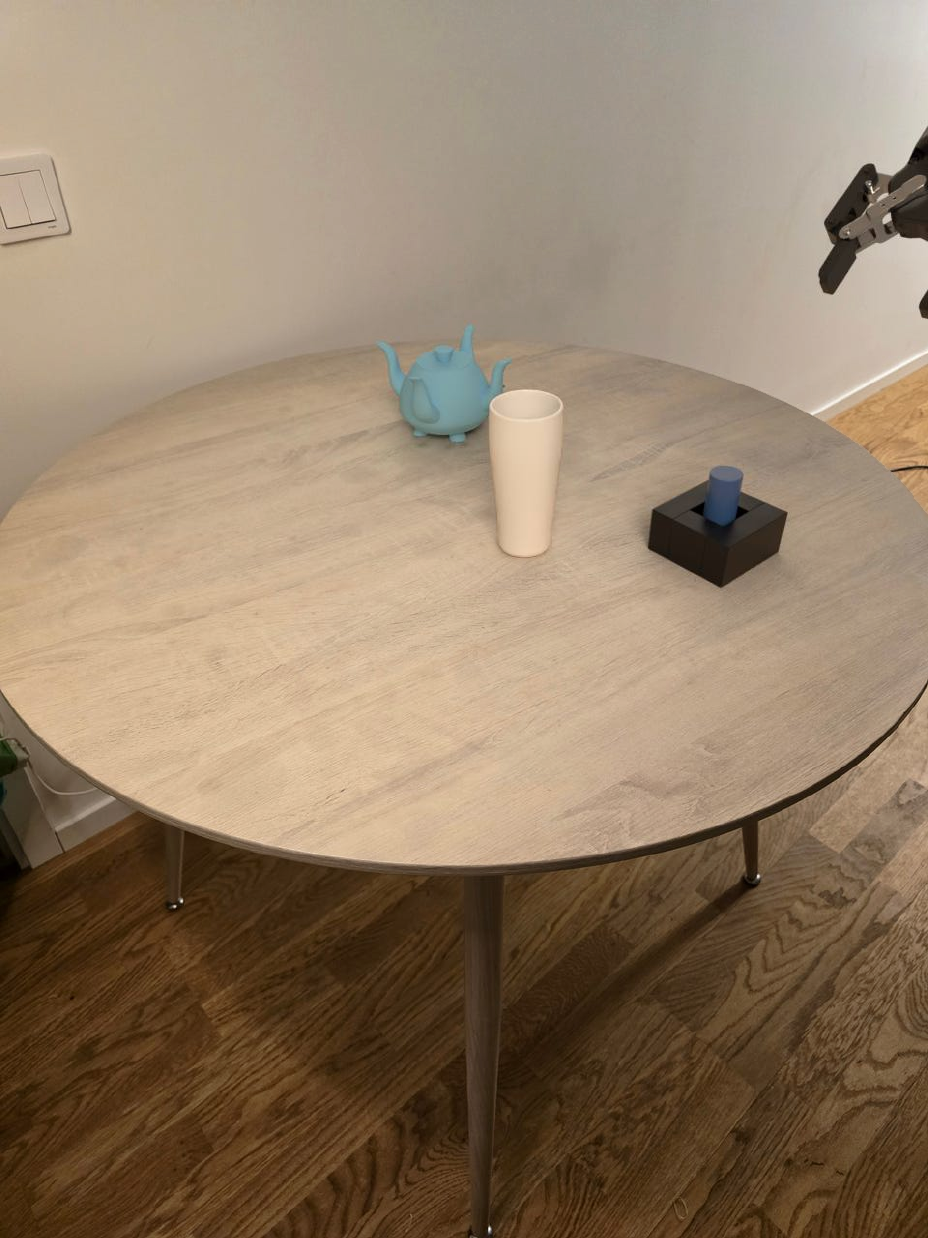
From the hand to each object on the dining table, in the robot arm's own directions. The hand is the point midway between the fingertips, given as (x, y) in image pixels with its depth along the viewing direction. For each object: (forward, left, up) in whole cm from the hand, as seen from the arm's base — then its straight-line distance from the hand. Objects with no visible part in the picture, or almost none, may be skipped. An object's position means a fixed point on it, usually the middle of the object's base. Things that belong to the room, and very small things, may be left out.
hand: (873, 300), depth 69 cm
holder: (+6, +7, -24) cm, 26 cm away
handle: (+6, +7, -24) cm, 26 cm away
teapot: (+45, +9, -24) cm, 52 cm away
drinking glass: (+19, +20, -24) cm, 37 cm away
